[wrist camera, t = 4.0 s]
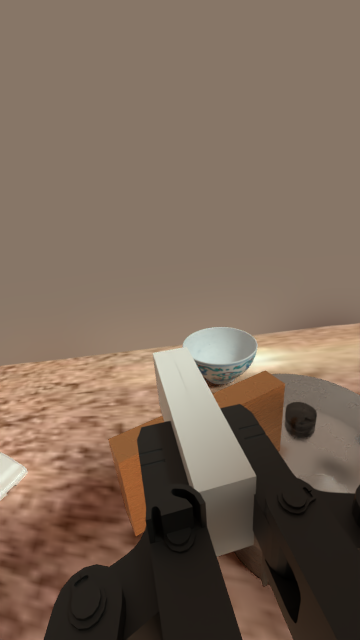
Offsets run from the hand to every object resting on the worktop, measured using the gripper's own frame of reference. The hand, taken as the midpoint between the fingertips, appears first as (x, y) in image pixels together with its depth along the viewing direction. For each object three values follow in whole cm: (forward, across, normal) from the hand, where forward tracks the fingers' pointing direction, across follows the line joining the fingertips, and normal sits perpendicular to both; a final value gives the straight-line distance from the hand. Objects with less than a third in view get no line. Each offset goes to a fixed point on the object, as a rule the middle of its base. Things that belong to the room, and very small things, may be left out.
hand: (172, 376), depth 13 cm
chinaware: (+40, +16, -30) cm, 52 cm away
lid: (+9, +10, -18) cm, 22 cm away
